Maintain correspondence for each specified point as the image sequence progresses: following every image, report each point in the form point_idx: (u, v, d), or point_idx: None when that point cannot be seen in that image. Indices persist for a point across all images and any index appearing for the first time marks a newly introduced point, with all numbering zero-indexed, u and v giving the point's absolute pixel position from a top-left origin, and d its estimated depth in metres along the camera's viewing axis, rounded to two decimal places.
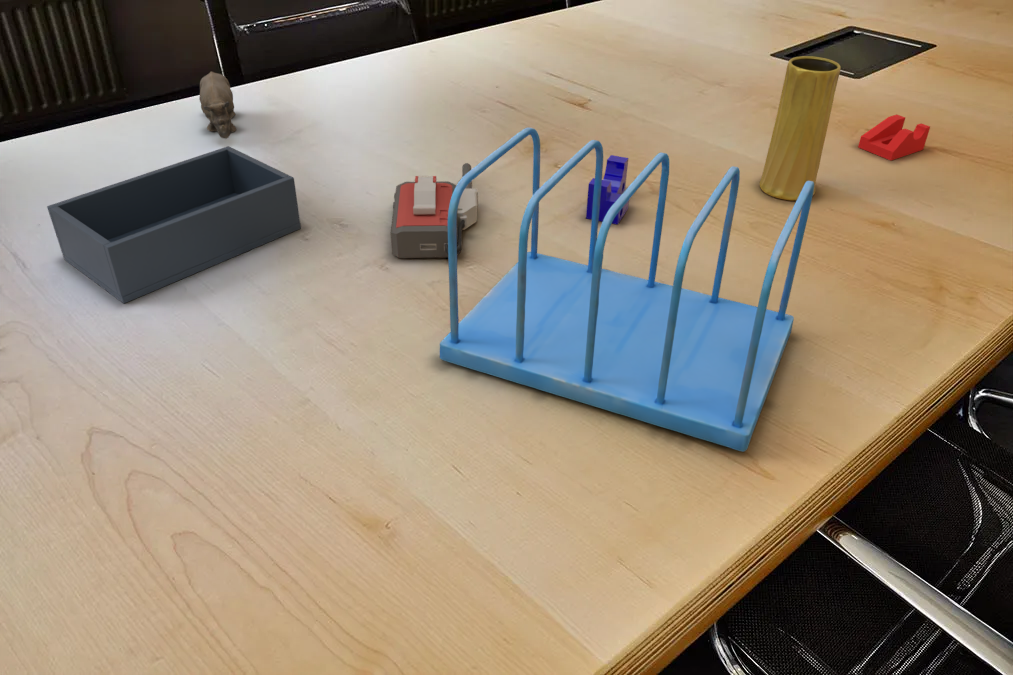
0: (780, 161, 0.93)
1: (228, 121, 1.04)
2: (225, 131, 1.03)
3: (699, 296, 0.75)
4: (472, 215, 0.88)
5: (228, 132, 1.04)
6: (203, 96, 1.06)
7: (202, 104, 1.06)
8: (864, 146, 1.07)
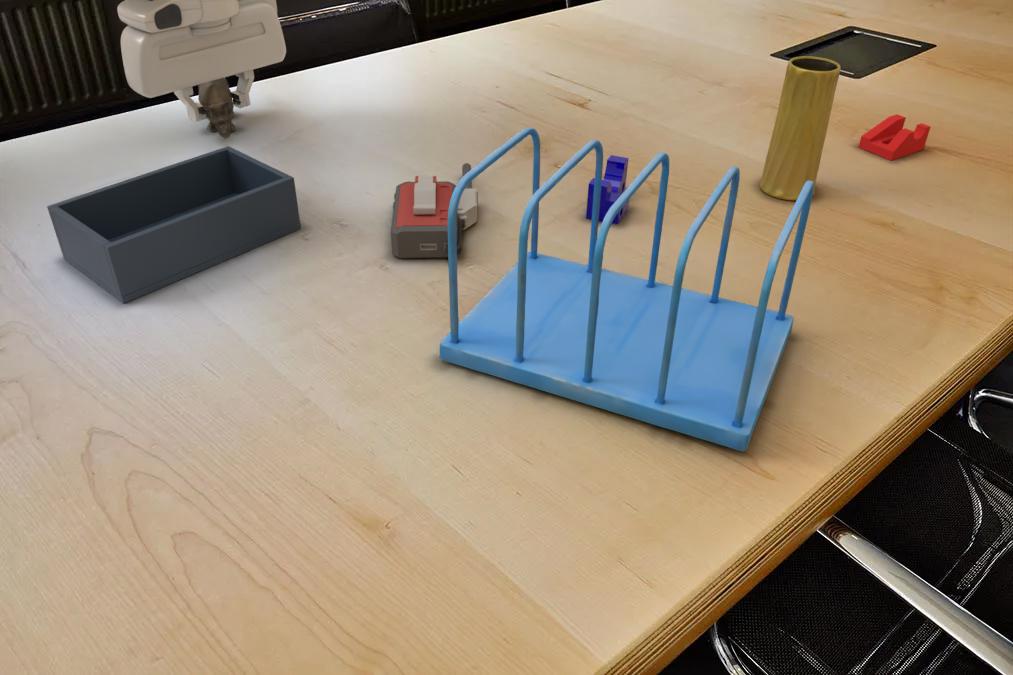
0: (780, 161, 0.93)
1: (228, 121, 1.04)
2: (226, 131, 1.04)
3: (699, 296, 0.75)
4: (472, 215, 0.88)
5: (228, 132, 1.04)
6: (202, 96, 1.05)
7: (201, 104, 1.06)
8: (864, 146, 1.07)
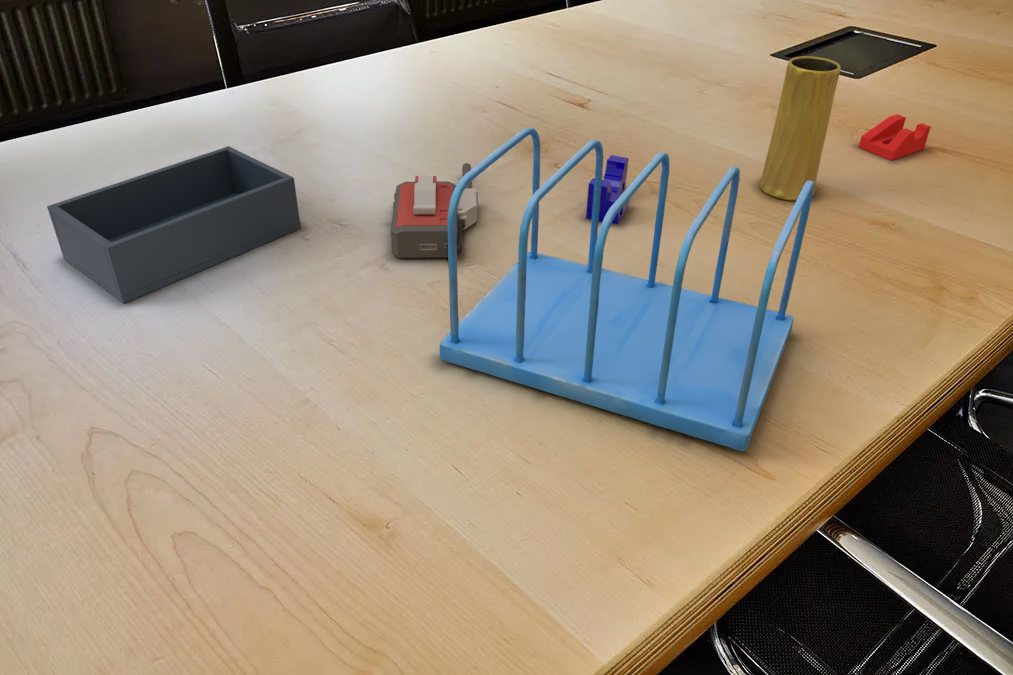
0: (780, 161, 0.93)
1: None
2: None
3: (699, 296, 0.75)
4: (472, 215, 0.88)
5: None
6: None
7: None
8: (865, 146, 1.07)
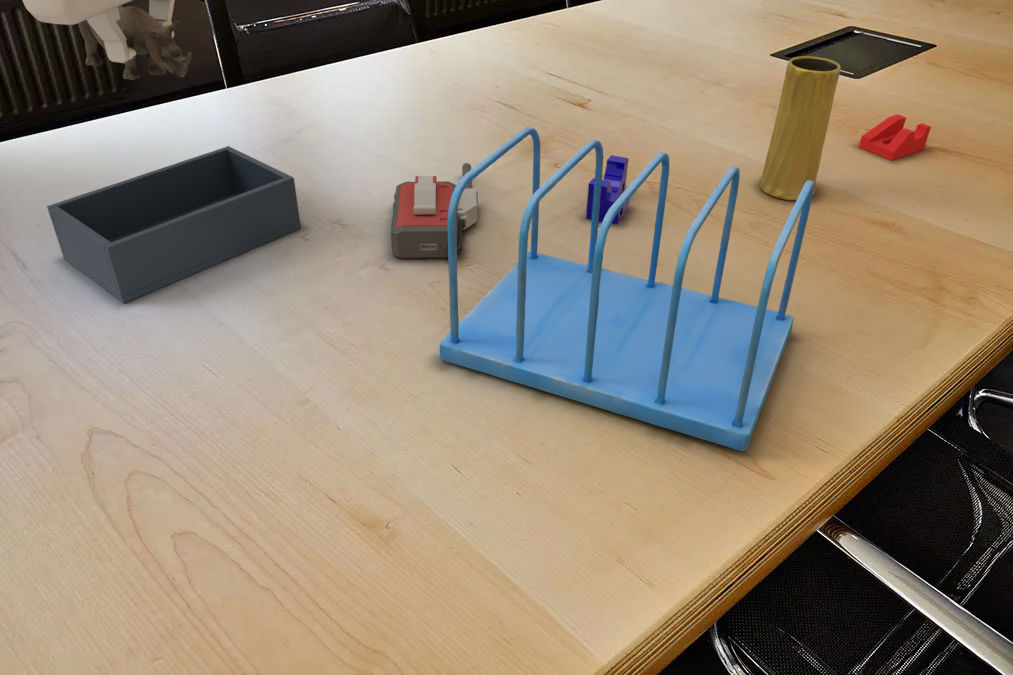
0: (780, 161, 0.93)
1: (180, 51, 0.73)
2: (187, 64, 0.72)
3: (699, 296, 0.75)
4: (472, 215, 0.88)
5: (186, 66, 0.73)
6: (121, 25, 0.72)
7: None
8: (865, 146, 1.07)
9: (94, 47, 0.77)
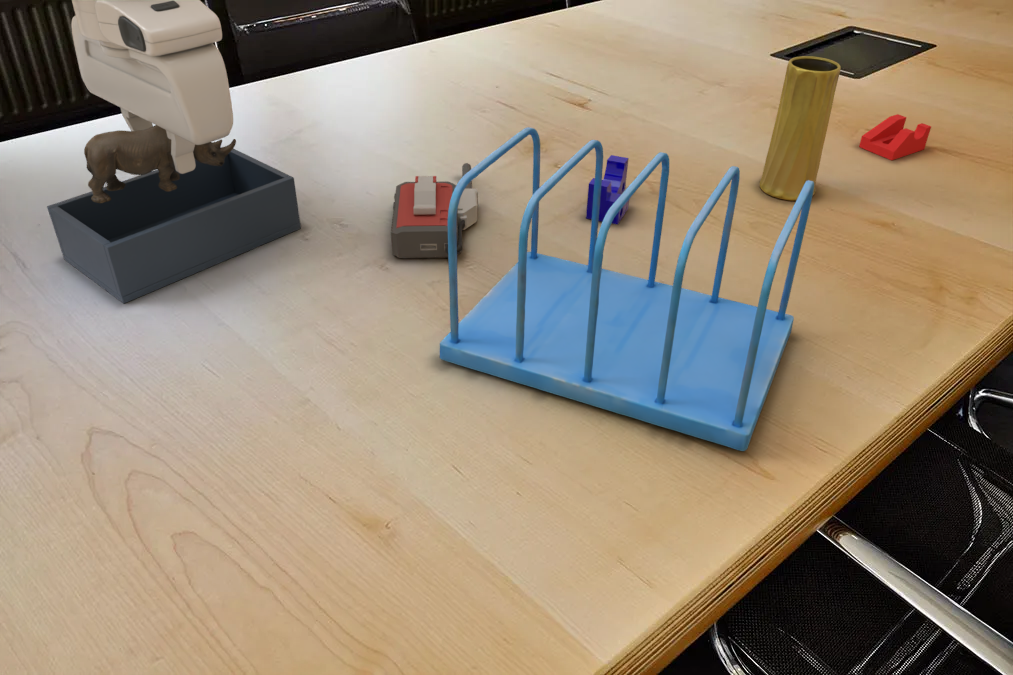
0: (780, 161, 0.93)
1: None
2: None
3: (699, 296, 0.75)
4: (473, 215, 0.88)
5: None
6: (167, 142, 0.77)
7: None
8: (865, 146, 1.07)
9: (104, 183, 0.77)
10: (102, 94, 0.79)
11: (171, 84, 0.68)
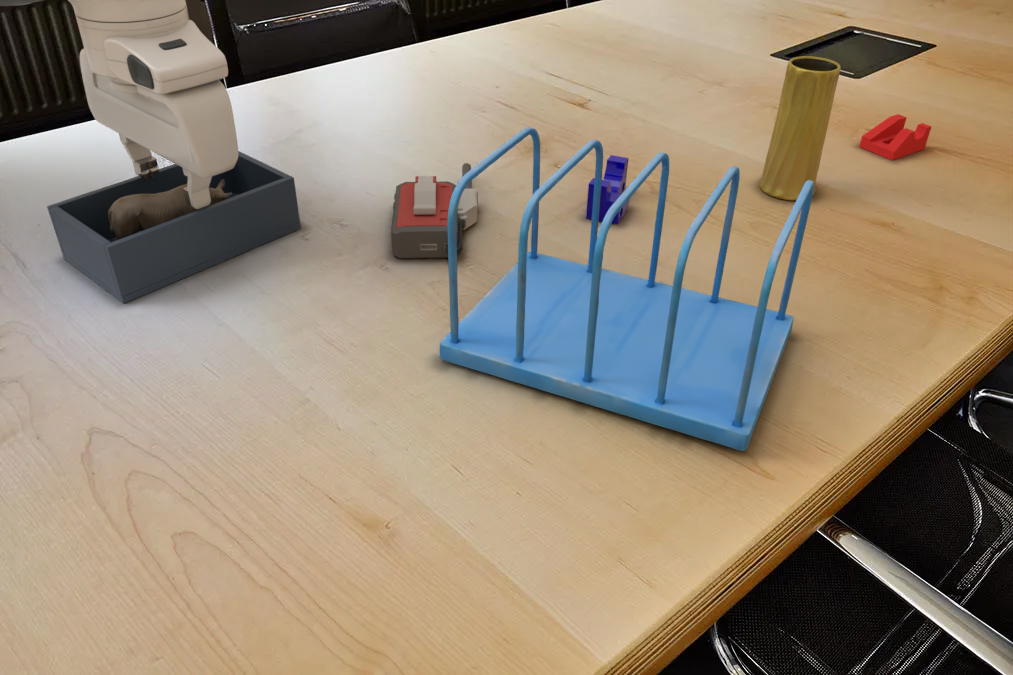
0: (780, 161, 0.93)
1: None
2: None
3: (699, 296, 0.75)
4: (473, 215, 0.88)
5: None
6: None
7: None
8: (865, 146, 1.07)
9: None
10: (109, 124, 0.81)
11: (178, 120, 0.70)
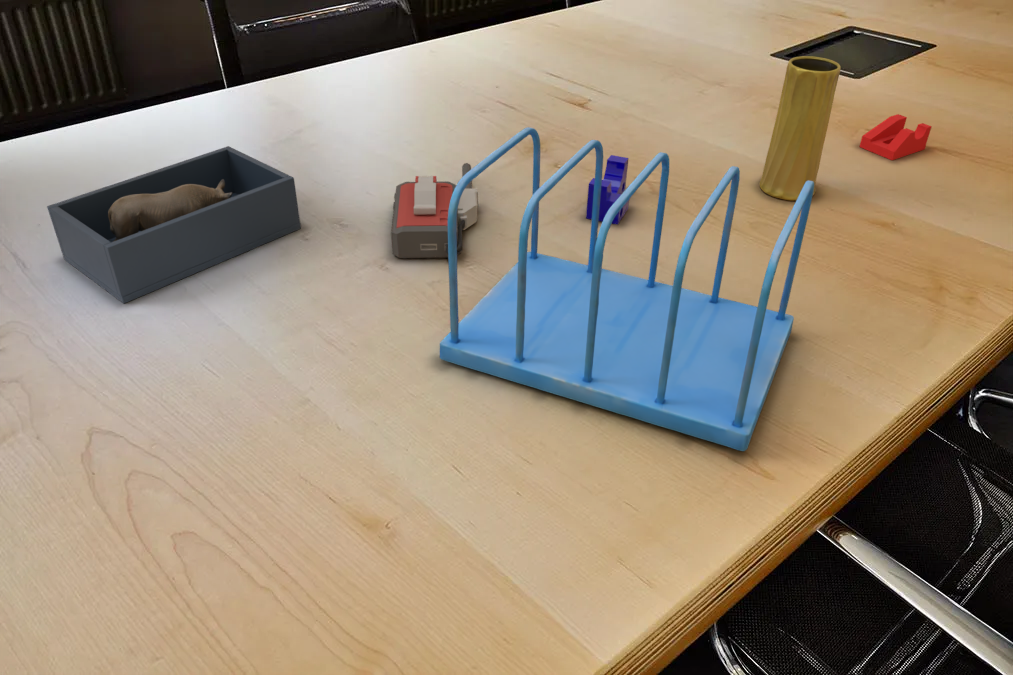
0: (780, 161, 0.93)
1: None
2: None
3: (699, 296, 0.75)
4: (473, 215, 0.88)
5: None
6: (188, 203, 0.80)
7: None
8: (865, 146, 1.07)
9: None
10: None
11: None
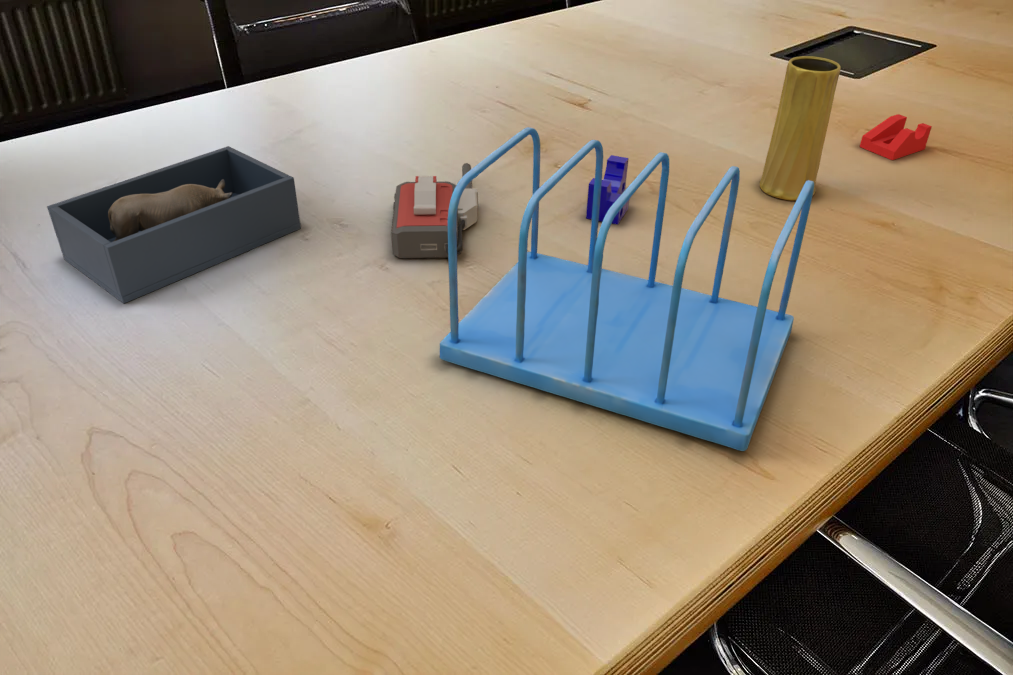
0: (780, 161, 0.93)
1: None
2: None
3: (699, 296, 0.75)
4: (473, 215, 0.88)
5: None
6: (188, 203, 0.80)
7: None
8: (866, 146, 1.07)
9: None
10: None
11: None
